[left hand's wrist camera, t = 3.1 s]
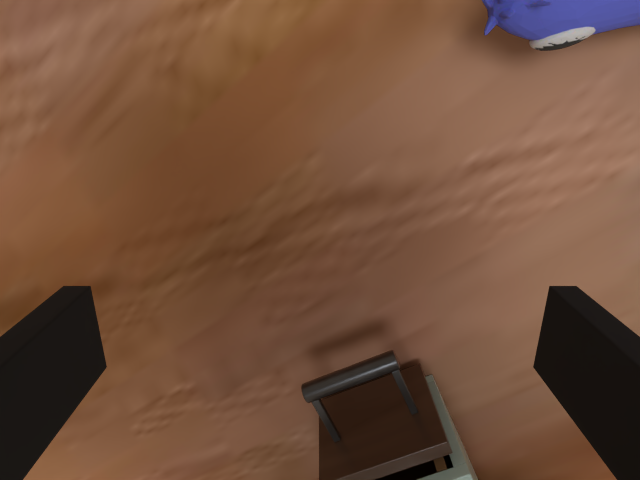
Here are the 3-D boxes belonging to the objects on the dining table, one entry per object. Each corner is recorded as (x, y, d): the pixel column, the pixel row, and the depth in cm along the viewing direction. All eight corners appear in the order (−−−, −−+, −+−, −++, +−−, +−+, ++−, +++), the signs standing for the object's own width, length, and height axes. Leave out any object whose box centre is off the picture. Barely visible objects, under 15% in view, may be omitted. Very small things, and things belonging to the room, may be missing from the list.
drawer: (291, 351, 39) (283, 427, 31) (396, 310, 38) (419, 378, 29) (384, 517, 46) (399, 617, 38) (475, 488, 45) (512, 585, 36)
